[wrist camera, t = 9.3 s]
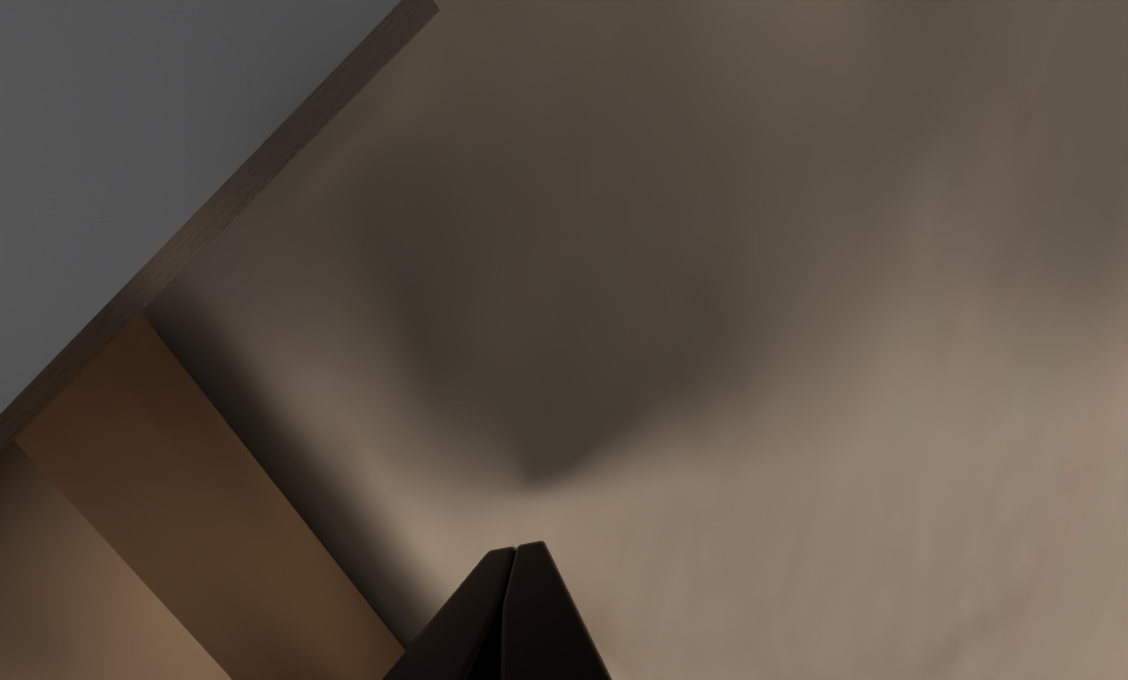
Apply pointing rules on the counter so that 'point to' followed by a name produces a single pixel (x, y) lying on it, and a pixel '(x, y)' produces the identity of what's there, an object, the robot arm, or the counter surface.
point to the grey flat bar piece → (149, 151)
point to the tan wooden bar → (163, 543)
